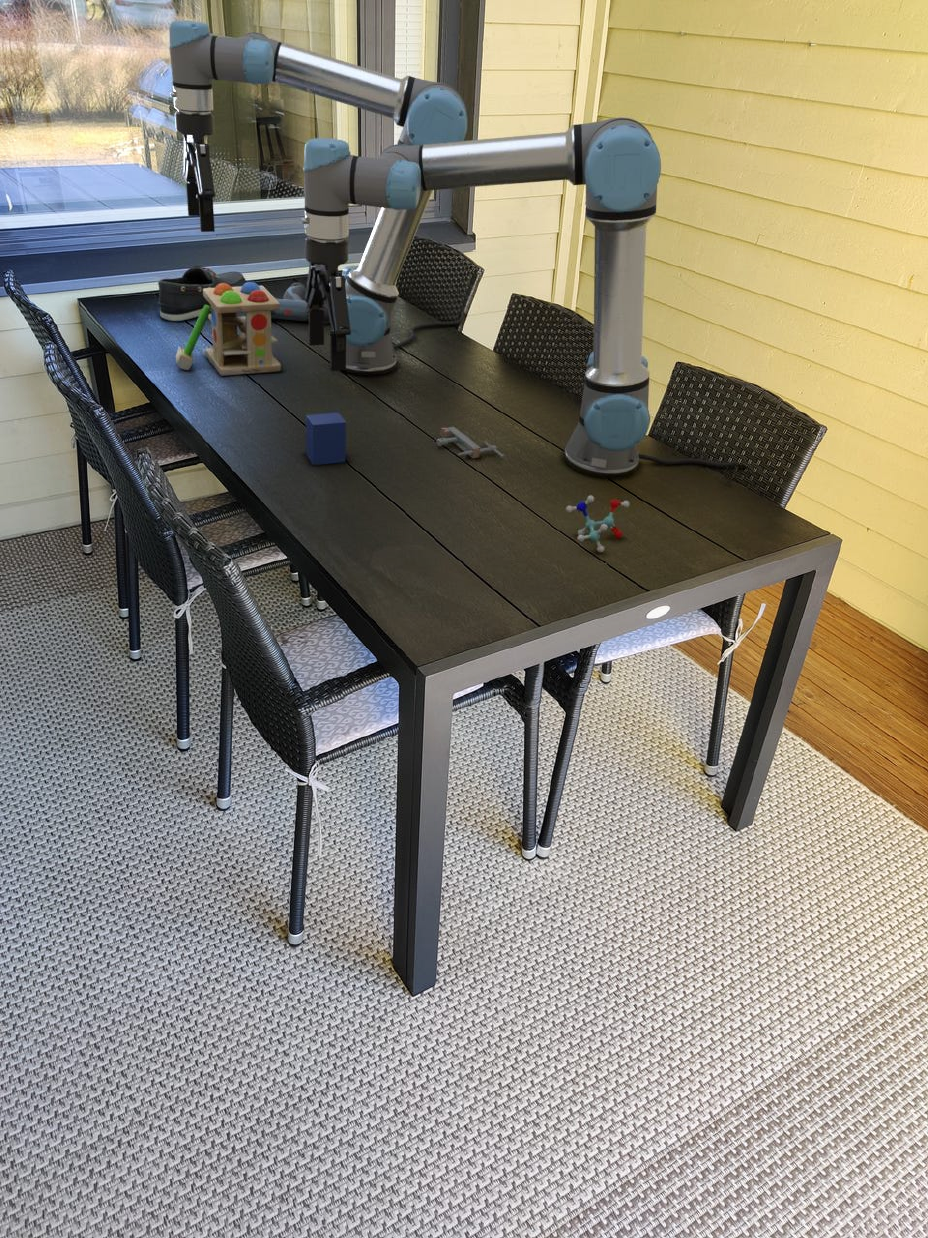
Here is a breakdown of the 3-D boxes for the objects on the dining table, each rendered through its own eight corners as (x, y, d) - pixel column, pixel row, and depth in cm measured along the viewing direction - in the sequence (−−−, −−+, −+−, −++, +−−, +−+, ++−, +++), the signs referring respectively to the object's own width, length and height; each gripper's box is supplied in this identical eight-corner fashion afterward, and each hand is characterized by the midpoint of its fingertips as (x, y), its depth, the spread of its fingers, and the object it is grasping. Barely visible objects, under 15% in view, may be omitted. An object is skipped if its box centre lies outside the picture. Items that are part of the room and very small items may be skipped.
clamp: (428, 429, 204) (470, 423, 208) (427, 439, 205) (469, 432, 209) (464, 459, 193) (507, 451, 198) (463, 469, 194) (506, 461, 199)
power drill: (344, 304, 276) (335, 327, 259) (277, 298, 275) (264, 321, 258) (344, 285, 273) (335, 306, 256) (277, 279, 272) (264, 300, 255)
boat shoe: (265, 300, 274) (264, 261, 269) (177, 323, 251) (173, 281, 245) (232, 291, 280) (229, 254, 275) (142, 313, 256) (138, 272, 251)
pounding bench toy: (183, 379, 220) (176, 299, 210) (169, 357, 231) (162, 280, 221) (282, 371, 230) (280, 294, 220) (264, 350, 240) (262, 276, 230)
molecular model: (629, 546, 167) (611, 490, 165) (576, 561, 170) (559, 506, 169) (639, 535, 177) (623, 482, 176) (590, 549, 181) (573, 498, 179)
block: (306, 454, 194) (306, 414, 190) (338, 451, 197) (338, 412, 192) (313, 465, 191) (313, 424, 186) (345, 461, 193) (346, 421, 188)
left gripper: (163, 100, 203) (172, 209, 215) (186, 121, 185) (194, 238, 197) (200, 102, 206) (207, 209, 218) (226, 122, 187) (232, 237, 199)
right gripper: (286, 220, 178) (289, 335, 190) (326, 257, 160) (327, 382, 171) (326, 220, 181) (326, 333, 193) (370, 255, 162) (368, 379, 174)
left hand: (201, 223), depth 207 cm, fingers open, 13 cm apart
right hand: (327, 356), depth 182 cm, fingers open, 13 cm apart
